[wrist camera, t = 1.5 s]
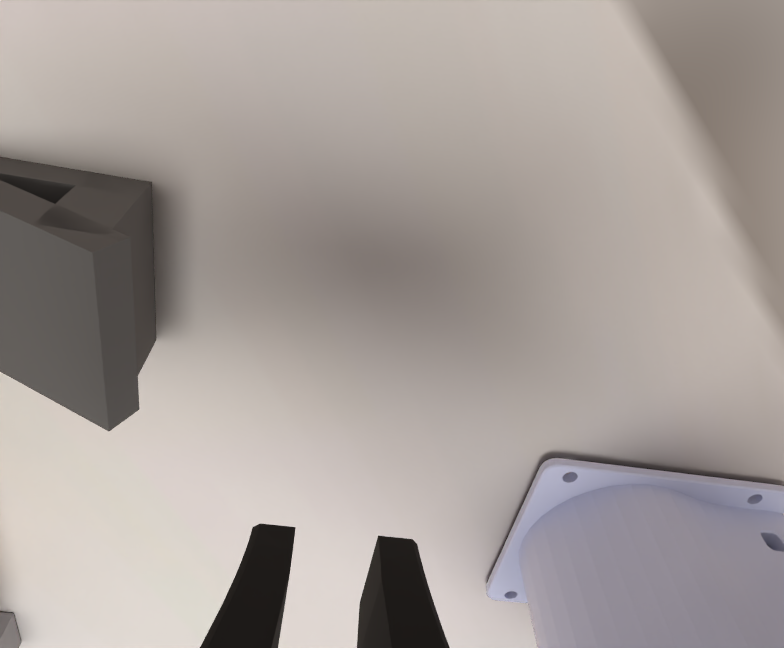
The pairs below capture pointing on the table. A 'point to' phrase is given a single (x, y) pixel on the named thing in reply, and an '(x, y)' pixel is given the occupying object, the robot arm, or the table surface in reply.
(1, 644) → the pair of grey posts
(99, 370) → the wedge
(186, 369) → the table surface
